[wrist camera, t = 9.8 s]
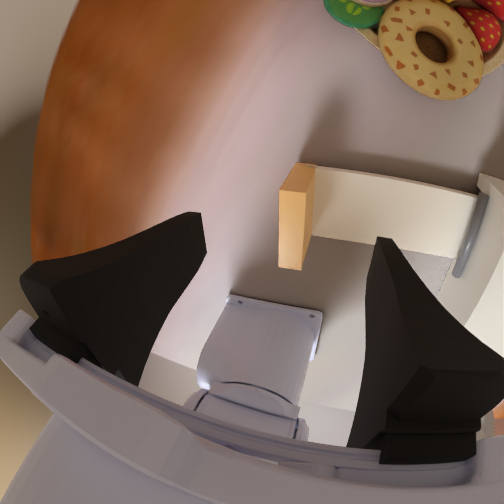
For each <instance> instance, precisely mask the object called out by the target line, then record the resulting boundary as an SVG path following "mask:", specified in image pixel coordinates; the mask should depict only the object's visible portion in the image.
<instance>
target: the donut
mask: <svg viewBox="0 0 504 504" xmlns="http://www.w3.org/2000/svg"><path fill="white" fill-rule="evenodd" d="M494 436H495V421H494V415H493V411H492V410H491V411H490V412H488V413H487V414H486V415H485V416H483V417H482V418H481V429H480V431H478V432H476V441H478V440H480V439H483V438H487V437H494Z"/></svg>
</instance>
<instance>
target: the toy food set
mask: <svg viewBox="0 0 504 504" xmlns="http://www.w3.org/2000/svg"><path fill="white" fill-rule="evenodd" d="M324 5H325V8H326V9H327V11H328V12H329V14H330V15H331V16H332V17H333V18H334V19H335V20H337V21H338V22H340V23H342V24H344V25H346V26H349V27H352V28H355V29H356V30H357V31H358V32H359V33H360V34H361V35H362V36H363V37H364V38H365V39H366V40H367V41H369V42H370V43H371V44H372V45H374V46H375V47H376V48H377V49H379V50H380V51H382V54H383V56H384V58H385V60H386V61H387V63H388V65H389V66H390V68H391V69H392V70H393V71H394V72H395V74H396V75H397V76H398V77H399V78H400V79H401V80H402V81H404V82H405V83H406V84H407V85H408V86H410V87H411V88H413V89H414V90H416V91H417V92H419V93H421V94H423V95H425V96H428V97H430V98H433V99H438V100H454V99H458V98H462V97H464V96H467V95H468V94H470V93H471V92H473V91H474V90H475V89H476V88H477V86H478V85H479V83H480V81H481V79H482V76H485V75H487V74H489V73H491V72H493V71H494V70H496V69H497V68H498V67H499V66H500V65H501V64H502V63H503V62H504V0H324Z"/></svg>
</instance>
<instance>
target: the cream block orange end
mask: <svg viewBox="0 0 504 504" xmlns="http://www.w3.org/2000/svg"><path fill="white" fill-rule="evenodd" d="M477 198H478V195H474V194H470V193H467V192H463V191H459V190H455V189H450V188H446V187H442V186H437V185H433V184H428V183H423V182H419V181H414V180H408V179H403V178H398V177H392V176H386V175H380V174H374V173H368V172H361V171H354V170H347V169H339V168H331V167H323V166H317V164H308V163H297V162H296V164H295V165H294V167H293V169H292V170H291V172H290V173H289V175H288V177H287V178H286V180H285V181H284V183H283V185H282V186H281V188H280V190H279V265H278V267H282V268H288V269H294V270H300V271H301V269H302V266H303V263H304V259H305V256H306V252H307V249H308V245H309V241H310V238H311V235H312V236H319V237H326V238H333V239H339V240H346V241H352V242H359V243H365V244H372V245H375V243H376V238H377V236H379V237H385V238H391V239H393V241H394V242H395V243H396V245H397V246H398V248H399V249H402V250H408V251H414V252H420V253H426V254H432V255H437V256H443V257H449V258H454V259H457V258H458V256H459V253H460V250H461V248H462V245H463V242H464V239H465V237H466V234H467V231H468V228H469V225H470V222H471V219H472V215H473V212H474V209H475V205H476V202H477Z"/></svg>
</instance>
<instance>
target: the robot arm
mask: <svg viewBox="0 0 504 504" xmlns="http://www.w3.org/2000/svg"><path fill="white" fill-rule="evenodd" d="M206 253H207V250H206V243H205V237H204V230H203V224H202V217H201V213H197V212H186V213H183V214H180V215H177V216H175V217H173V218H170V219H168V220H166V221H164V222H162V223H160V224H157V225H155V226H153V227H151V228H149V229H147V230H144V231H142V232H140V233H138V234H135V235H133V236H131V237H129V238H126V239H124V240H122V241H119V242H116V243H114V244H111V245H108V246H105V247H102V248H99V249H95V250H92V251H89V252H85V253H82V254H78V255H73V256H69V257H64V258H58V259H51V260H44V261H37V262H35V263H34V264H32V265H31V266H30V267H29V268H28V269H27V270H26V271H25V272H24V273H23V274H22V275H21V276H20V284H21V287H22V289H23V291H24V293H25V295H26V297H27V298H28V300H29V302H30V303H31V305H32V307H33V308H34V310H35V311H36V313H37V315H38V316H39V318H38V319H37V320H36V321H35V320H34V319H33V318H32V317H31V316H29V315H28V314H27V313H25V312H24V311H23V310H19V311H18V312H17V313H16V314H15V315H14V316H13V317H12V319H11V320H10V321H9V322H8V323H7V324H6V325H5V326H4V328H3V329H2V330H1V331H0V359H1V360H2V361H3V362H4V363H5V364H6V365H7V366H8V367H9V369H11V371H12V372H13V373H14V374H15V375H16V376H17V377H18V378H19V379H20V380H21V381H22V382H23V383H24V384H25V385H26V386H27V387H28V388H29V389H30V391H31V392H32V393H33V394H34V395H35V396H36V397H37V398H38V399H39V400H40V401H41V402H42V403H43V404H44V405H46V406H47V407H48V408H49V409H50V410H51V411H52V412H54V414H53V415H52V417H51V418H50V420H49V421H48V423H47V424H46V426H45V427H44V429H43V430H42V432H41V434H40V435H39V437H38V438H37V440H36V441H35V443H34V445H33V446H32V448H31V449H30V451H29V453H28V454H27V456H26V458H25V459H24V461H23V463H22V464H21V466H20V468H19V470H18V471H17V473H16V475H15V476H14V478H13V480H12V482H11V483H10V485H9V487H8V489H7V491H6V493H5V494H4V496H3V498H2V500H1V502H0V504H504V435H501V436H494V437H487V438H483V439H480V440H478V441H476V432H478V431H480V429H481V418H482V417H483V416H485V415H486V414H487V413H488V412H490V411H491V410H492V409H493V408H494V407H495V406H497V405H498V404H499V403H500V402H501V401H502V400H503V399H504V357H502V356H501V355H499V354H498V353H497V352H495V351H494V350H493V349H491V348H490V347H488V346H487V345H486V344H484V343H483V342H482V341H480V340H479V339H478V338H477V337H476V336H474V335H473V334H472V333H471V332H470V331H468V330H467V329H466V328H465V327H464V326H463V325H462V324H461V323H460V322H459V321H458V320H457V319H455V318H454V317H453V316H452V315H451V314H450V313H449V312H448V311H447V310H446V309H445V308H444V306H443V305H442V304H441V303H440V302H439V301H438V300H437V299H436V298H435V296H434V295H433V294H432V293H431V292H430V291H429V289H428V288H427V287H426V286H425V284H424V283H423V282H422V280H421V279H420V278H419V276H418V275H417V274H416V272H415V271H414V270H413V268H412V267H411V265H410V264H409V263H408V261H407V260H406V258H405V257H404V255H403V254H402V252H401V251H400V249H399V248H398V246H397V245H396V243H395V242H394V241H393V239H391V238H385V237H379V236H377V238H376V243H375V247H374V252H373V256H372V260H371V264H370V268H369V272H368V276H367V283H366V295H365V318H366V350H365V362H364V369H363V376H362V382H361V387H360V393H359V398H358V403H357V408H356V412H355V416H354V421H353V425H352V429H351V432H350V436H349V439H348V443H347V446H346V447H341V446H333V445H326V444H319V443H313V442H308V441H307V440H308V434H309V428H308V426H307V424H306V421H305V419H302V418H298V414H299V411H300V407H299V406H298V402H299V398H300V395H301V391H302V387H303V383H304V380H305V376H306V372H307V368H308V364H309V361H312V360H313V359H314V356H315V351H316V347H317V342H318V338H319V333H320V328H321V323H322V318H323V313H322V312H320V311H316V310H310V309H304V308H299V307H293V306H288V305H282V304H277V303H272V302H266V301H261V300H256V299H251V298H246V297H241V296H236V295H231V294H230V295H228V296H227V298H226V300H227V305H226V306H225V308H224V310H223V312H222V314H221V316H220V317H219V319H218V321H217V323H216V325H215V327H214V328H213V330H212V332H211V334H210V336H209V338H208V339H207V341H206V343H205V345H204V347H203V349H202V352H201V355H200V358H199V362H198V366H197V382H198V385H199V387H201V388H202V389H200V390H198V391H197V392H194V393H193V394H192V395H191V396H190V397H189V398H188V399H187V401H186V402H185V404H184V405H183V406H181V405H178V404H176V403H173V402H171V401H168V400H166V399H163V398H161V397H159V396H156V395H154V394H152V393H149V392H147V391H145V390H143V389H141V388H139V387H138V385H139V381H140V379H141V376H142V373H143V370H144V367H145V364H146V362H147V359H148V357H149V354H150V352H151V349H152V347H153V345H154V342H155V340H156V338H157V336H158V334H159V331H160V330H161V328H162V326H163V324H164V322H165V320H166V318H167V316H168V314H169V313H170V311H171V309H172V308H173V306H174V305H175V303H176V302H177V300H178V299H179V297H180V296H181V295H182V293H183V292H184V290H185V289H186V287H187V286H188V285H189V283H190V282H191V280H192V279H193V277H194V276H195V274H196V273H197V271H198V270H199V268H200V266H201V264H202V262H203V260H204V258H205V255H206ZM241 301H242V302H241ZM311 314H312V315H311Z"/></svg>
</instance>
